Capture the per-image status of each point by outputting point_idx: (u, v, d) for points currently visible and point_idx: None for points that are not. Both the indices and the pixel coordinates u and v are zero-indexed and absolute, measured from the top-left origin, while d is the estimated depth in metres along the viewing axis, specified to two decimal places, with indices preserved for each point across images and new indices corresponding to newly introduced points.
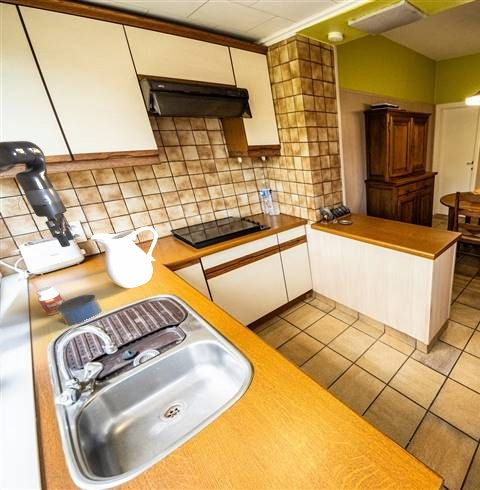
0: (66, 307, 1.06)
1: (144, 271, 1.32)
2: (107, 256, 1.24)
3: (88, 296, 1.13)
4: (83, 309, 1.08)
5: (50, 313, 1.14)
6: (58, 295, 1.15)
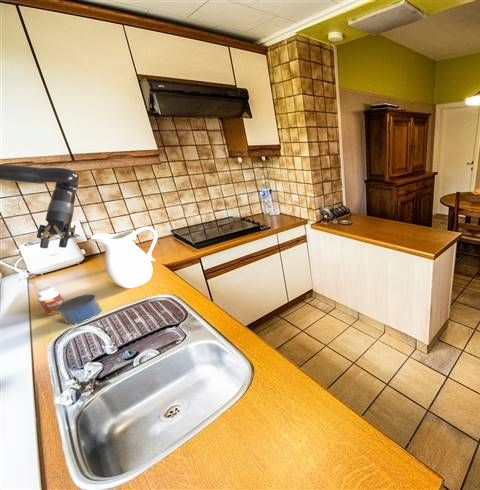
0: (66, 307, 1.06)
1: (144, 271, 1.32)
2: (107, 256, 1.24)
3: (88, 296, 1.13)
4: (83, 309, 1.08)
5: (50, 313, 1.14)
6: (58, 295, 1.15)
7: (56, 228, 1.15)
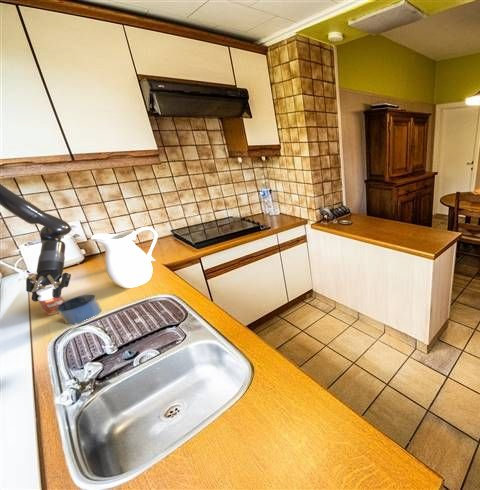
0: (66, 307, 1.06)
1: (144, 271, 1.32)
2: (107, 256, 1.24)
3: (88, 296, 1.13)
4: (83, 309, 1.08)
5: (50, 313, 1.14)
6: None
7: (50, 278, 1.14)
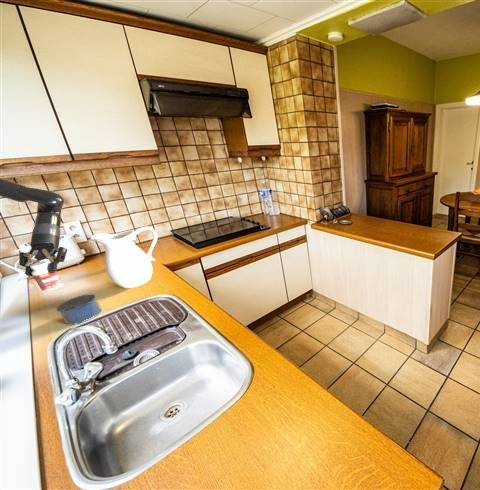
0: (66, 307, 1.06)
1: (144, 271, 1.32)
2: (107, 256, 1.24)
3: (88, 296, 1.13)
4: (83, 309, 1.08)
5: (45, 289, 1.07)
6: None
7: (45, 252, 1.07)
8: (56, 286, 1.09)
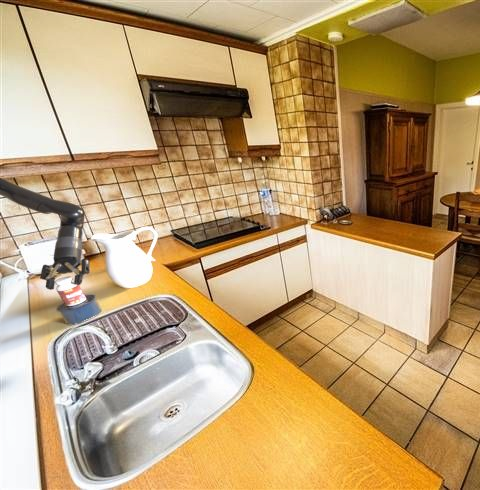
0: (66, 307, 1.06)
1: (144, 271, 1.32)
2: (107, 256, 1.24)
3: (88, 296, 1.13)
4: (83, 309, 1.08)
5: (69, 304, 1.07)
6: (77, 285, 1.08)
7: (69, 265, 1.07)
8: (79, 301, 1.08)
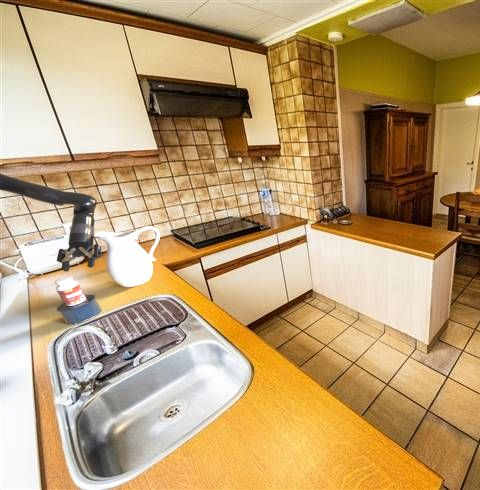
0: (66, 307, 1.06)
1: (144, 270, 1.32)
2: (109, 253, 1.24)
3: (88, 296, 1.13)
4: (83, 309, 1.08)
5: (69, 304, 1.07)
6: (77, 285, 1.08)
7: (82, 249, 1.16)
8: (79, 301, 1.08)
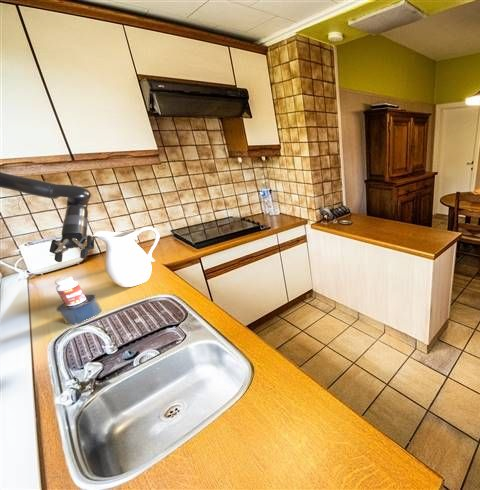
0: (66, 307, 1.06)
1: (142, 271, 1.31)
2: (107, 253, 1.25)
3: (88, 296, 1.13)
4: (83, 309, 1.08)
5: (69, 304, 1.07)
6: (77, 285, 1.08)
7: (75, 240, 1.17)
8: (79, 301, 1.08)
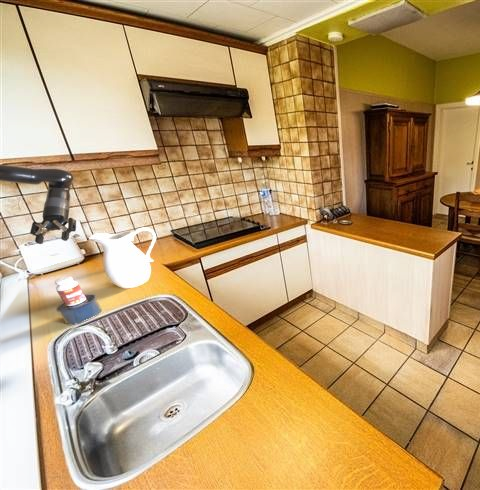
0: (66, 307, 1.06)
1: (141, 272, 1.31)
2: (104, 256, 1.24)
3: (88, 296, 1.13)
4: (83, 309, 1.08)
5: (69, 304, 1.07)
6: (77, 285, 1.08)
7: (56, 222, 1.17)
8: (79, 301, 1.08)
